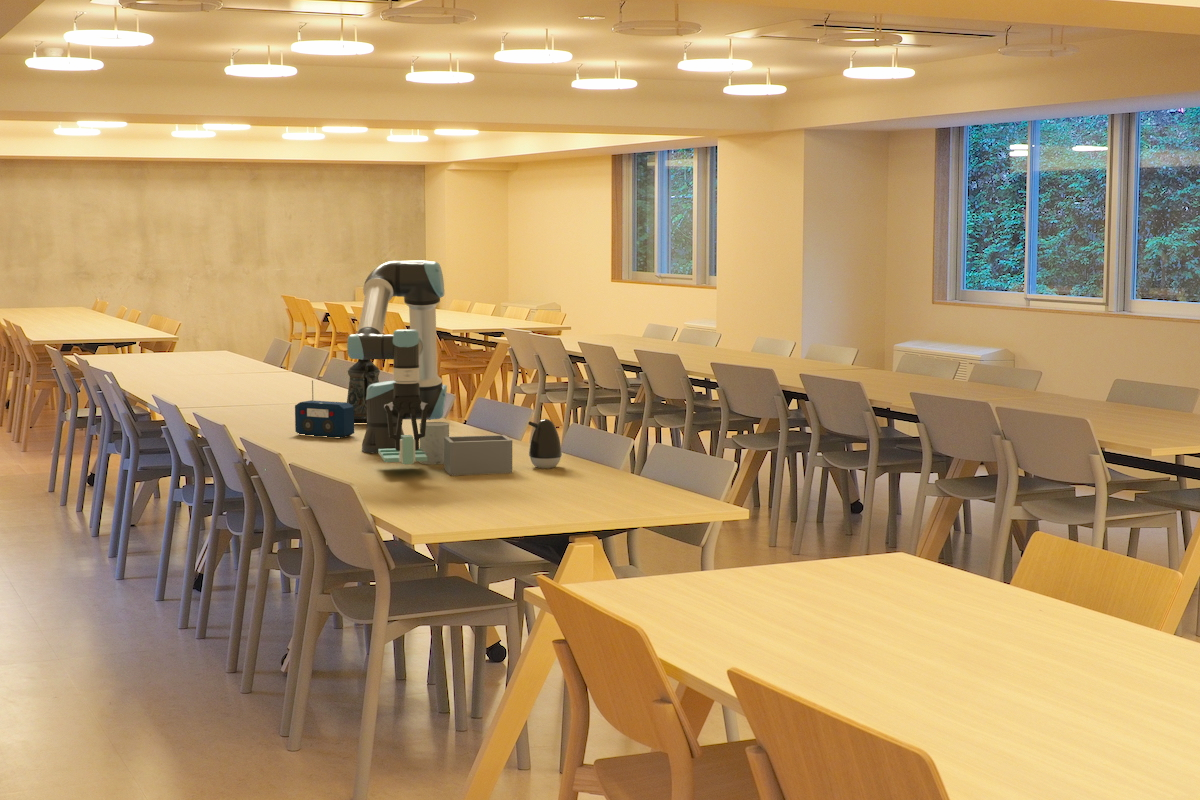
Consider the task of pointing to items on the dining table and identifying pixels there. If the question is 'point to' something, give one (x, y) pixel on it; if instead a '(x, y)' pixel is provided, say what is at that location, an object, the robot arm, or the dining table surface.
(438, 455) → the grey speckled cylinder
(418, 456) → the ridged green paddle
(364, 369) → the beer stein
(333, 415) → the radio
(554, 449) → the pump dispenser
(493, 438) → the tub
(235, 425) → the dining table surface
